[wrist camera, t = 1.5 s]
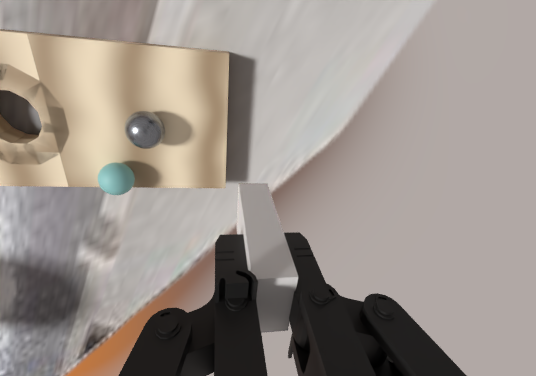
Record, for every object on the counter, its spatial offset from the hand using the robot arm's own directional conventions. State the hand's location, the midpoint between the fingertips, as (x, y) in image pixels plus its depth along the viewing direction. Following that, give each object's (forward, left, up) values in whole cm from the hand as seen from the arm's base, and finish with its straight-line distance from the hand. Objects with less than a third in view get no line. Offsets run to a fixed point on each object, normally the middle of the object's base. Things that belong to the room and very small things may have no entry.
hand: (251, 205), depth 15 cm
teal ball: (+11, +5, -12) cm, 17 cm away
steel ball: (+8, 0, -12) cm, 14 cm away
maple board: (+13, 0, -16) cm, 21 cm away
